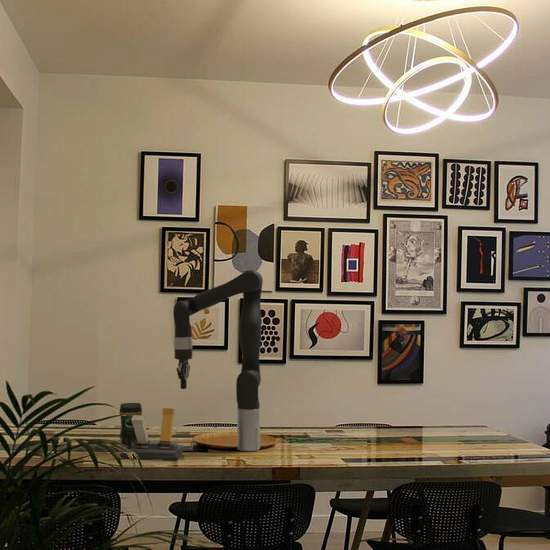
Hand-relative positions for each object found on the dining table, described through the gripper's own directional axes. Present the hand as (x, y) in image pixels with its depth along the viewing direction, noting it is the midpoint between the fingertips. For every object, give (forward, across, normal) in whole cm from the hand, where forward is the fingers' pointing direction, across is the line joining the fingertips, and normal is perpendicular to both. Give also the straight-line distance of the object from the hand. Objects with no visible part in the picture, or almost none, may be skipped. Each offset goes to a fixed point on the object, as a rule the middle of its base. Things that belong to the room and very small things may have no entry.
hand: (183, 388), depth 329 cm
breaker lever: (+22, -16, +3) cm, 27 cm away
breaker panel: (+25, -16, +7) cm, 30 cm away
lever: (+21, -15, +12) cm, 29 cm away
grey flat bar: (+25, -24, +7) cm, 35 cm away
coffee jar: (+25, -3, +22) cm, 34 cm away
